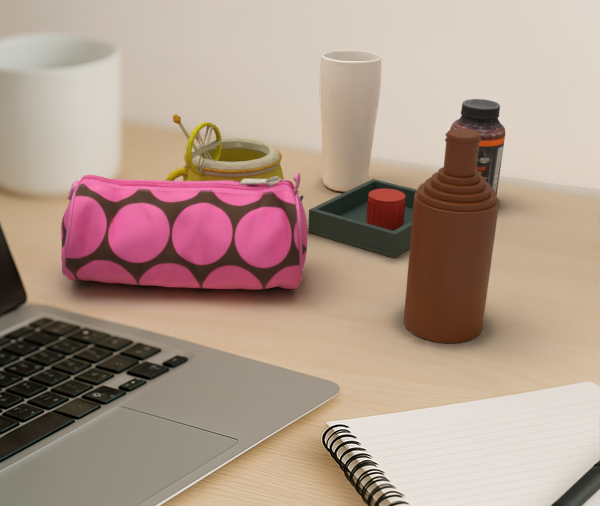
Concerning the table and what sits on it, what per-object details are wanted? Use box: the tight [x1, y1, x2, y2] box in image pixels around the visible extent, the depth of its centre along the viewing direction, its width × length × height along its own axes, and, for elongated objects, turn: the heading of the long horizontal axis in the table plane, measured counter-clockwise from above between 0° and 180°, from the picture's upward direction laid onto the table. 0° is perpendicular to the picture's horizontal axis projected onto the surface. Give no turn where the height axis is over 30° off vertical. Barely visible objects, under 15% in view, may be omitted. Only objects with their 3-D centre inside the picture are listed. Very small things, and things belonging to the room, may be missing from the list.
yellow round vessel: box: [164, 113, 285, 181], centre depth 83 cm, size 13×11×12 cm
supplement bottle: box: [449, 98, 506, 194], centre depth 90 cm, size 6×6×11 cm
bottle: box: [403, 129, 500, 344], centre depth 64 cm, size 6×6×16 cm
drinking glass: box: [319, 49, 382, 193], centre depth 94 cm, size 7×7×15 cm
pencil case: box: [60, 172, 308, 291], centre depth 72 cm, size 21×10×10 cm, turn 92°
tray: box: [307, 178, 418, 259], centre depth 86 cm, size 12×10×2 cm
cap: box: [366, 189, 406, 230], centre depth 85 cm, size 4×4×3 cm
